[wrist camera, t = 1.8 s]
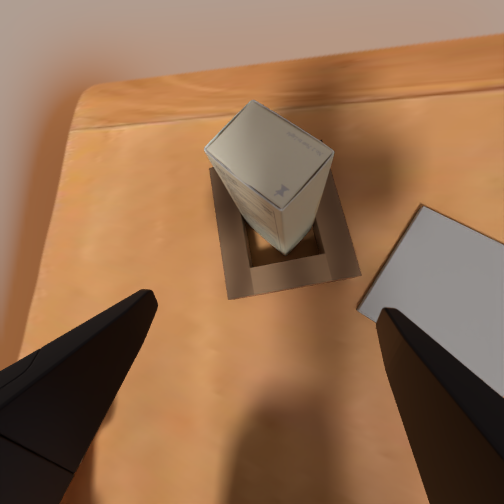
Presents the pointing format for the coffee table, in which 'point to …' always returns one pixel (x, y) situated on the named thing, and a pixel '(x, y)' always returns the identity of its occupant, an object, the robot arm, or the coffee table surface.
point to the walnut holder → (288, 272)
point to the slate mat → (448, 291)
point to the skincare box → (271, 173)
